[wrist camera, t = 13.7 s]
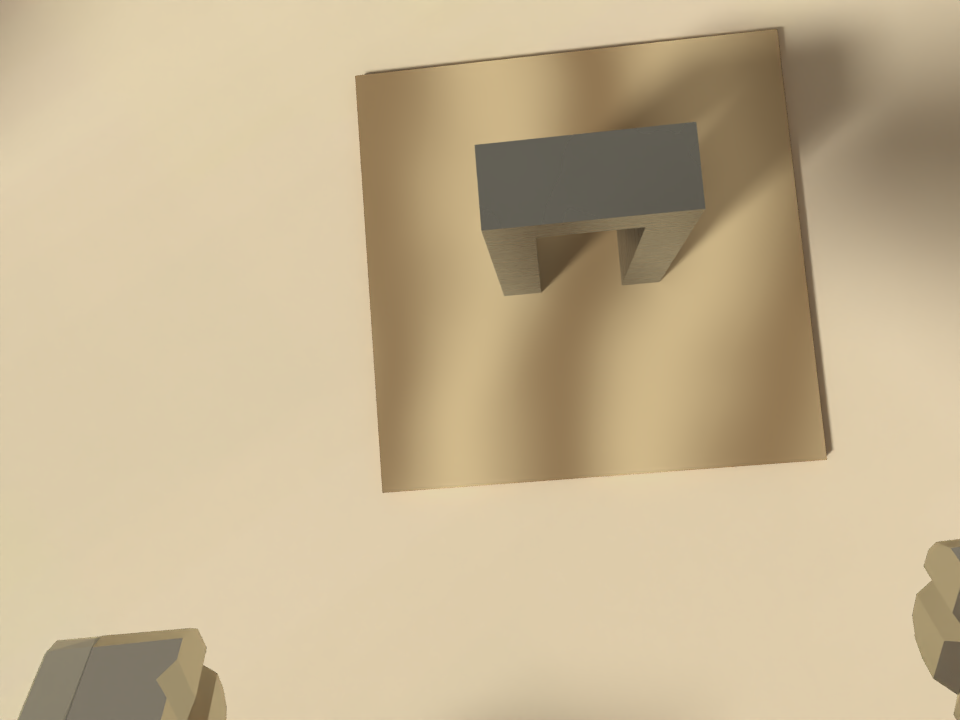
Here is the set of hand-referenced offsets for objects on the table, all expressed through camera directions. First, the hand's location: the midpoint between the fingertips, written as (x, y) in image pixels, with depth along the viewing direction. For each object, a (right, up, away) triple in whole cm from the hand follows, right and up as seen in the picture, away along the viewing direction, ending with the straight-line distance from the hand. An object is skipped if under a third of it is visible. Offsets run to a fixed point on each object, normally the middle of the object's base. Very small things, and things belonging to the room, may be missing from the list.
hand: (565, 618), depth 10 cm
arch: (+2, +6, +19) cm, 20 cm away
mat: (+2, +6, +19) cm, 20 cm away
